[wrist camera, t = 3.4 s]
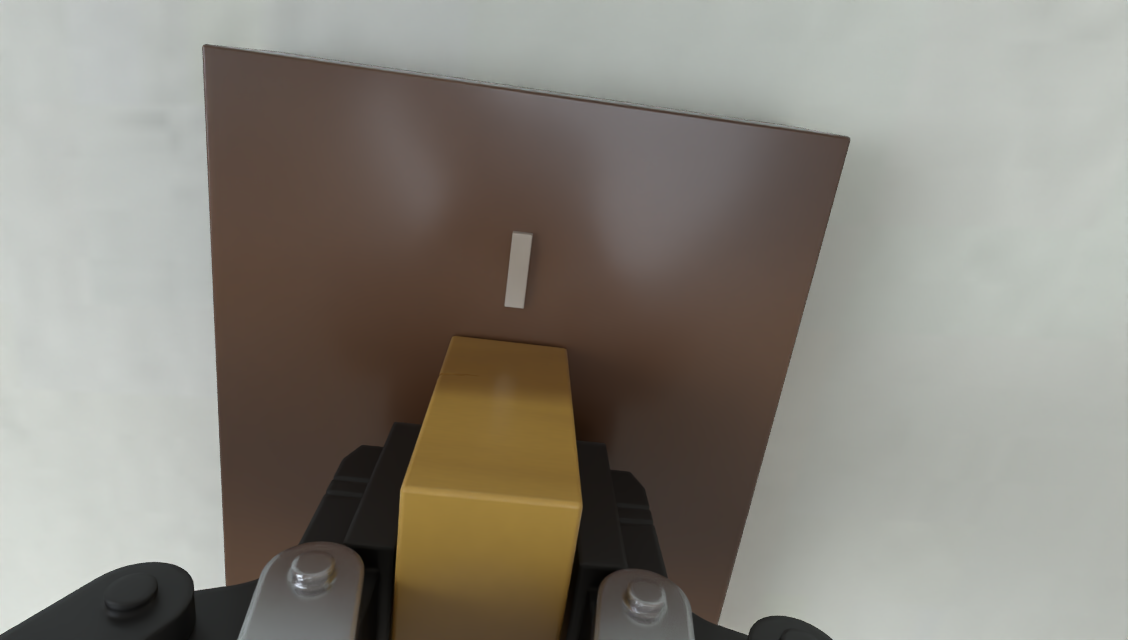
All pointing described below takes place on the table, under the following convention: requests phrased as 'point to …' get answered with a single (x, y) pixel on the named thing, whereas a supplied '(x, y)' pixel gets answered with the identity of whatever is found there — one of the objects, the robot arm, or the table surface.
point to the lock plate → (500, 280)
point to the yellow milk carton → (490, 499)
